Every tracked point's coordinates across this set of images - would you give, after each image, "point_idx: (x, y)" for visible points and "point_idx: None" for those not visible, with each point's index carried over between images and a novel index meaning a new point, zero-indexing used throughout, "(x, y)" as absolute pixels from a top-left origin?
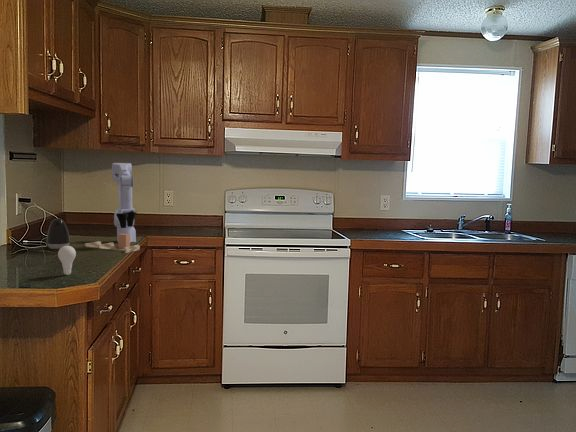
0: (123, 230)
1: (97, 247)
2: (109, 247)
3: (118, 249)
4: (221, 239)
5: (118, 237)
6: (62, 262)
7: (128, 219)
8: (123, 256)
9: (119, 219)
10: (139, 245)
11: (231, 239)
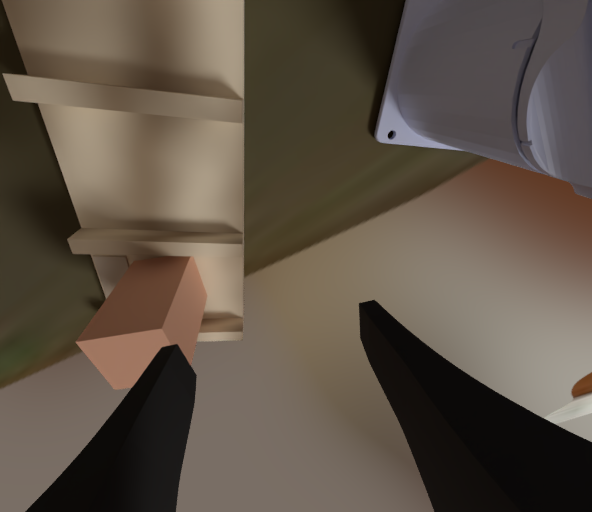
0: (482, 117)
1: (46, 47)
2: (135, 162)
3: (105, 283)
4: (581, 391)
5: (92, 321)
6: None
7: (410, 392)
8: (41, 362)
9: (62, 494)
10: (240, 337)
11: (575, 408)
